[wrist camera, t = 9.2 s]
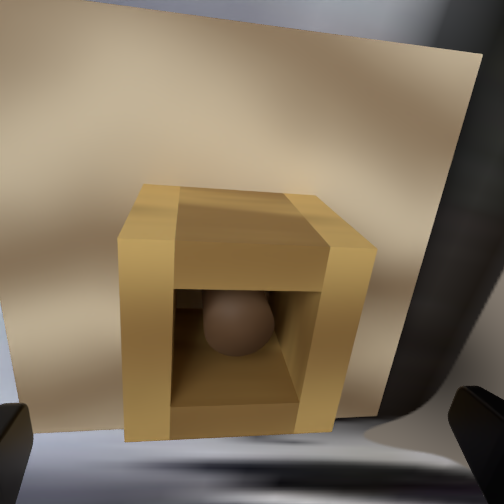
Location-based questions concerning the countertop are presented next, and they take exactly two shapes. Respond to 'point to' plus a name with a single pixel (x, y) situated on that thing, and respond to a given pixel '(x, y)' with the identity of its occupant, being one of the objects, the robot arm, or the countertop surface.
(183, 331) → the wooden crate frame
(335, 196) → the post board
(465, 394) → the robot arm
